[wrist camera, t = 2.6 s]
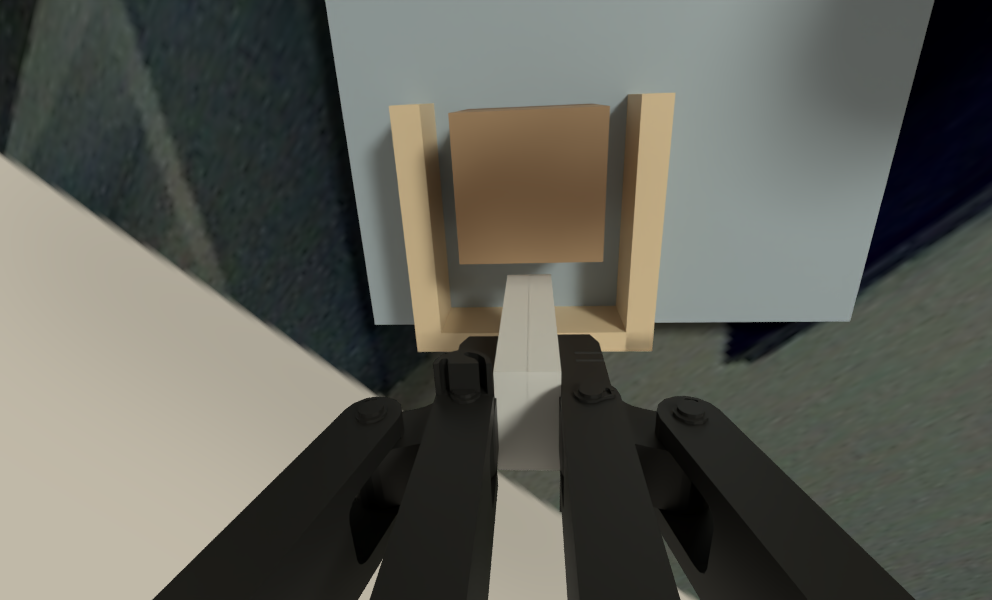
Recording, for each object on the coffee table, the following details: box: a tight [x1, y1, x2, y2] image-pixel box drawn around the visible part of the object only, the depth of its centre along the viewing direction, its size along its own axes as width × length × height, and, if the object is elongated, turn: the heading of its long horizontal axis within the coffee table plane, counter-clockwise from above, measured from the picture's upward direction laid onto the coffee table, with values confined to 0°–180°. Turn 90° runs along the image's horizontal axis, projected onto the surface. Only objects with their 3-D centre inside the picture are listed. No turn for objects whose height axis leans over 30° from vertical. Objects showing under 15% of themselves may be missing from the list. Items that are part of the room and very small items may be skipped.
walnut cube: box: [448, 104, 610, 264], centre depth 16 cm, size 4×4×4 cm
